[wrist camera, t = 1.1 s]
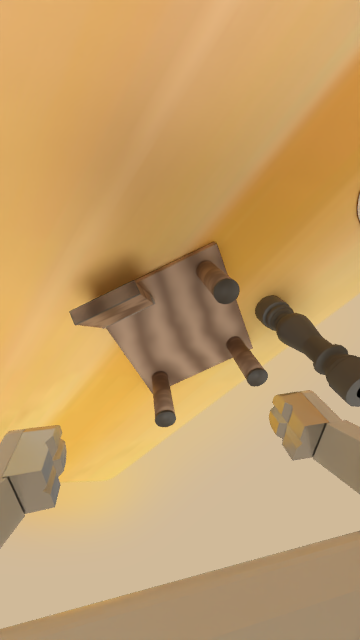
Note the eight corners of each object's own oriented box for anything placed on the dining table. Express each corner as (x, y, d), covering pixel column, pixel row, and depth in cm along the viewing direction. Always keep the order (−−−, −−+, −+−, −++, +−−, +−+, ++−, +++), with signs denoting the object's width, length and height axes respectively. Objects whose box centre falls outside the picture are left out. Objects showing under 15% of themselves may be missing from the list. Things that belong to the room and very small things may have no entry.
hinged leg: (151, 294, 44) (134, 279, 33) (156, 304, 43) (140, 293, 32) (101, 318, 44) (68, 311, 33) (105, 329, 44) (73, 325, 33)
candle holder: (271, 325, 54) (364, 412, 32) (249, 315, 52) (334, 402, 30) (287, 301, 52) (399, 378, 30) (266, 290, 50) (369, 364, 28)
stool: (213, 242, 43) (243, 258, 31) (249, 343, 55) (280, 383, 43) (91, 301, 44) (76, 338, 33) (152, 387, 56) (156, 438, 44)
